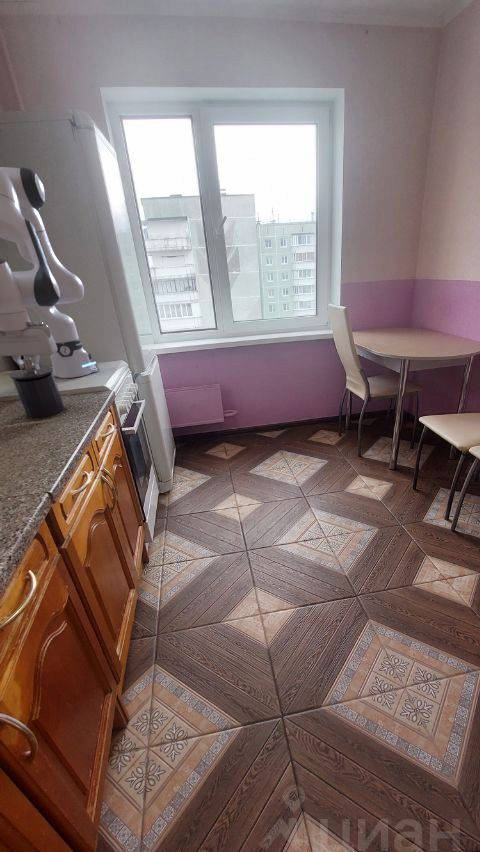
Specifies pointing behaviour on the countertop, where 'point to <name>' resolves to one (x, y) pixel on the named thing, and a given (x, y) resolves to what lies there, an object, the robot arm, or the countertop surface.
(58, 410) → the canister
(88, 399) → the countertop surface
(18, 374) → the lid
